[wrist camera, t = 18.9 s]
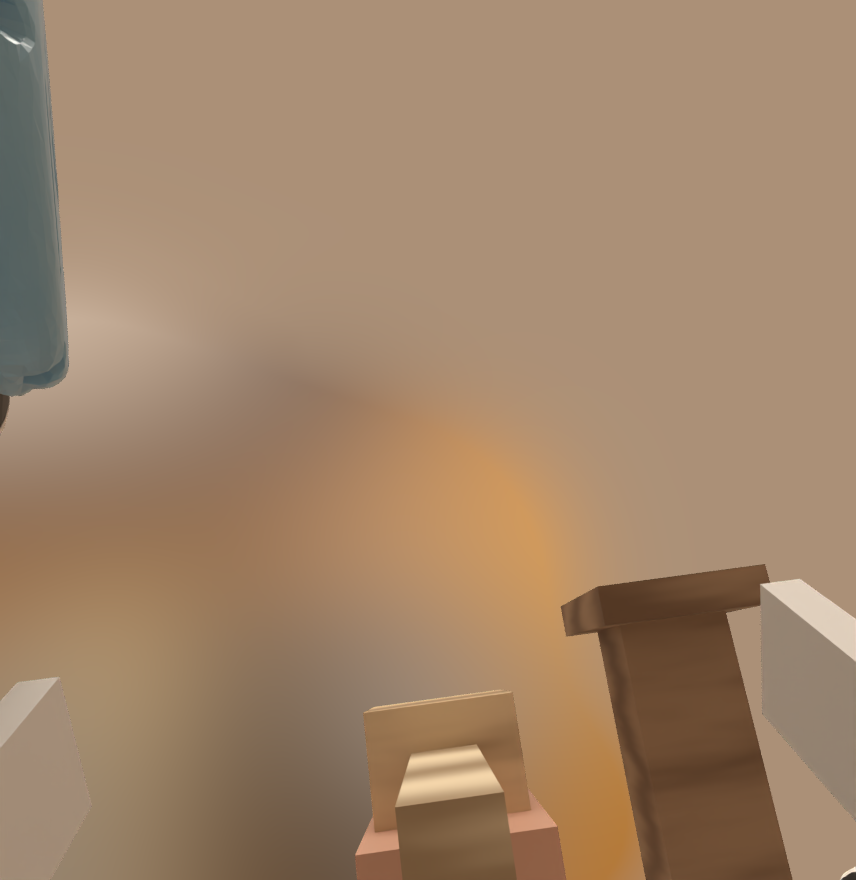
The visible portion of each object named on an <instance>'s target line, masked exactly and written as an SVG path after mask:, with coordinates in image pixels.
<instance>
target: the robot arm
mask: <svg viewBox="0 0 856 880" xmlns="http://www.w3.org/2000/svg"><path fill="white" fill-rule="evenodd" d="M68 367H69V359H68V331H67V315H66V298H65V284H64V272H63V261H62V246H61V228H60V219H59V203H58V185H57V173H56V159H55V146H54V132H53V120H52V106H51V94H50V81H49V69H48V57H47V45H46V34H45V23H44V12H43V1H42V0H0V434H1V432H2V431H3V429H4V426H5V422H6V418H7V415H8V411H9V396H22V395H24V394H26V393H28V392H30V391H31V390H32V389H45V388H50V387H53V386H55V385H57V384H59V383H60V382H61V381H62V380H63V379H64V378H65V377H66V374H67V371H68ZM760 601H761V662H762V714H763V715H764V716H765V718H766V719H767V720H768V721H769V722H770V723H771V724H772V726H773V727H774V728H775V729H776V730H777V731H778V733H779V734H780V735H781V736H782V737H783V738H784V739H785V741H786V742H787V743H788V744H789V745H790V746H791V748H792V749H793V750H794V751H795V752H796V753H797V754H798V756H799V757H800V758H801V759H802V760H803V761H804V762H805V764H806V765H807V766H808V767H809V768H810V769H811V771H813V773H814V774H815V775H816V776H817V777H818V779H819V780H820V781H821V782H822V783H823V784H824V785H825V787H826V788H827V789H828V790H829V791H830V792H831V794H832V795H833V796H834V797H835V798H836V799H837V800H838V802H839V803H840V804H841V805H842V806H843V807H844V809H845V810H846V811H847V812H848V813H849V814H850V815H851V817H852V818H853V819H854V820H855V821H856V619H855V618H854V617H852V616H851V615H849V614H848V613H847V612H845V611H844V610H842V609H841V608H840V607H838V606H837V605H835V604H834V603H833V602H831V601H830V600H828V599H827V598H826V597H824V596H823V595H822V594H820V593H819V592H817V591H816V590H814V589H813V588H812V587H810V586H809V585H808V584H806V583H805V582H803V581H802V580H801V579H796V580H788V581H781V582H773V583H765V584H760ZM91 807H92V805H91V801H90V797H89V793H88V789H87V785H86V781H85V777H84V773H83V769H82V765H81V761H80V757H79V753H78V749H77V745H76V741H75V737H74V733H73V729H72V725H71V721H70V717H69V713H68V709H67V705H66V701H65V697H64V693H63V689H62V685H61V681H60V677H54V678H47V679H39V680H31V681H24V682H17V683H16V684H15V686H14V687H13V688H12V689H11V690H10V691H9V692H8V693H7V694H6V695H5V696H4V698H3V699H2V700H1V701H0V880H51V878H52V876H53V874H54V872H55V871H56V869H57V867H58V865H59V864H60V862H61V860H62V858H63V856H64V855H65V853H66V851H67V849H68V848H69V846H70V844H71V842H72V841H73V839H74V837H75V835H76V833H77V831H78V830H79V828H80V826H81V824H82V823H83V821H84V819H85V817H86V816H87V814H88V812H89V810H90V809H91Z"/></svg>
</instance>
